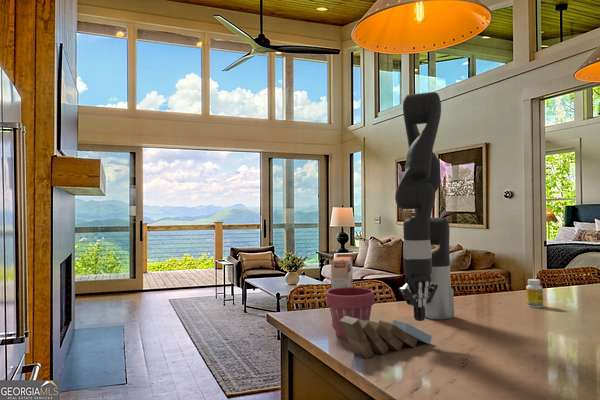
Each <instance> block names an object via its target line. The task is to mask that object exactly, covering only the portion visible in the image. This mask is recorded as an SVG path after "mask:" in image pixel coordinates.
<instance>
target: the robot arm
mask: <svg viewBox="0 0 600 400" xmlns="http://www.w3.org/2000/svg"><path fill="white" fill-rule="evenodd" d="M402 112H403V120H404V125H405V130H406V131H405V132H406V137H407V143H408V144H407V145H408V151H407V153H406V159H405V169H404V173H403V175H402V177H401V179H400V181H399V184H398V186H397V188H396V191H395V196H394V197H395V199H394V200H395V203H396V205H397V207H398V208H400V209H401V210H414V217H410V218H406V219H405V220H404V221H403V224H402V226H403V229H402V230H403V232H402V233H403V246H402V251H403V252H402V253H403V272H404V274H405V280H404V283H405V284H403V286H402V287H399V288H398V292H399V293H400V295H401V296H402V298H403V299H404V300H405V303H406V304H407V305H409V306H412V307H413V318H414V320H415V321H418V322H422V321H425V319H429V320H448V319H449V320H450V319H451V318H452V319H453V318H455V302H454V288H452V286H451V285H452V284H451V283H452V282H451V261H450V260H451V259H450V257H451V256H450V232H451V231H450V222H449V220H448V218H446V217H432V212H433V208H434V205H435V201H436V193H437V191H438V190H439V187H440V185H441V183H442V176H441V175H442V174H441V163H440V160H439V159H438V157H437V155H436V154H435V153H434V145H435V142H436V141H435V140H436V138H437V134H438V130H439V125H440V120H441V114H442V102H441V98H440V95H439V93H438V92H435V91H434V92H433V91H430V92H421V93H412V94H410V93H409V94H407V95H405V96H404V97H403V100H402ZM424 124H425V127H424V128H423V129H422V132H421V133H420V131H419V127H418V125H424ZM437 245H438V246H439V247H438V249H437V250H436V251H434V252H432V246H437Z"/></svg>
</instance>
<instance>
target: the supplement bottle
mask: <svg viewBox="0 0 600 400" xmlns="http://www.w3.org/2000/svg"><path fill="white" fill-rule="evenodd" d="M540 284H541V280H540V279H538V278H537V279H536V278H528V279H527V285H526V287H525V292H526V306H527V307H529V308H543V307H544V292H543V290H544V289H543V286H542V285H540Z"/></svg>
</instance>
